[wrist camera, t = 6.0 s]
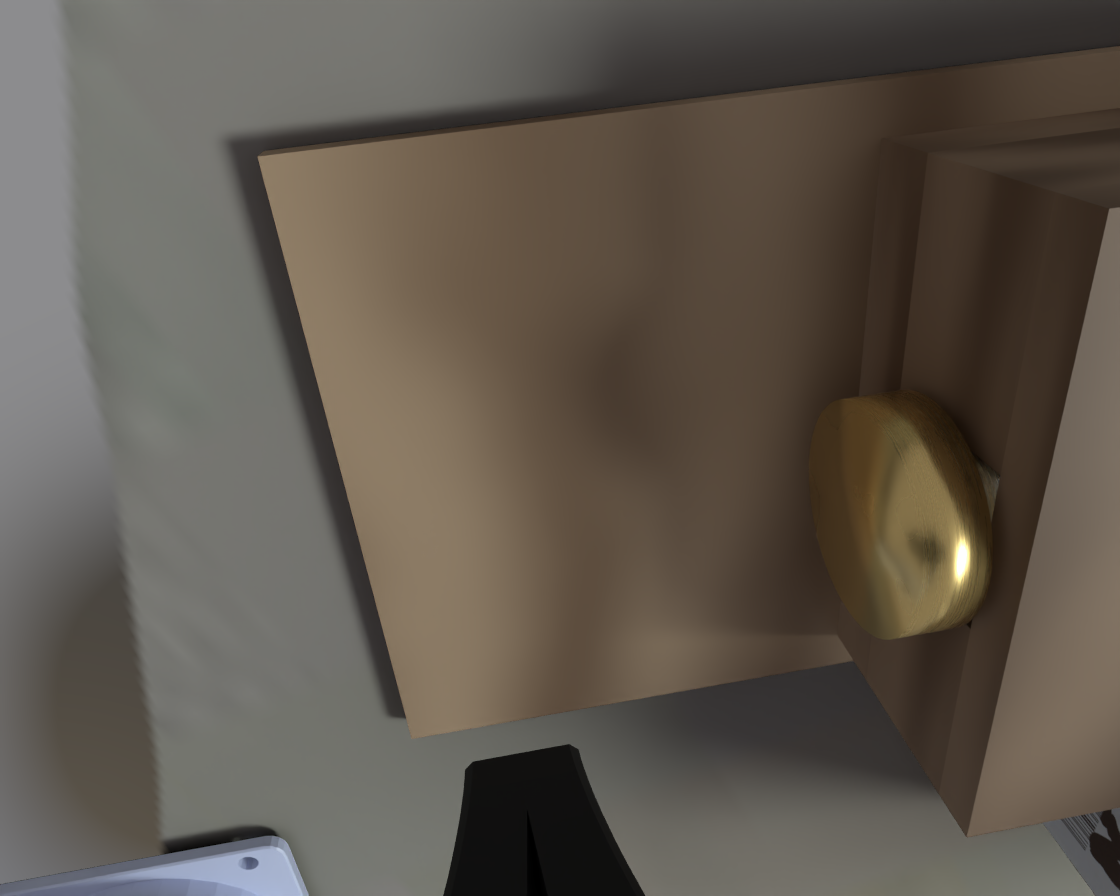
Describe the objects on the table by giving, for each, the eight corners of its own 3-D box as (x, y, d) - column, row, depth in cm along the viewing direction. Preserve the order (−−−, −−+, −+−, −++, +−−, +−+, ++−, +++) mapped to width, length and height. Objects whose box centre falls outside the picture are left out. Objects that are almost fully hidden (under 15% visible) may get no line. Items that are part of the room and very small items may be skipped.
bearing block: (412, 720, 21) (405, 978, 16) (263, 150, 14) (157, 247, 9) (1208, 581, 23) (1461, 770, 17) (1417, 9, 16) (1950, 14, 10)
